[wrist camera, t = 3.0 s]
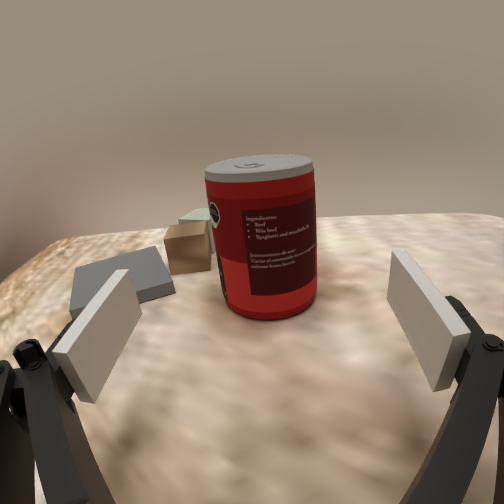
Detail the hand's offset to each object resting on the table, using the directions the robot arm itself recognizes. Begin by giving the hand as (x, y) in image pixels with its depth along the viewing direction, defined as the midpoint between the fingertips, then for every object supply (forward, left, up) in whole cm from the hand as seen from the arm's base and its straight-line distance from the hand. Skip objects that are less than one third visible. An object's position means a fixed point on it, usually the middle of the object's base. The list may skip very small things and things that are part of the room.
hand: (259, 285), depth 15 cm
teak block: (-1, -19, -7) cm, 20 cm away
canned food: (-5, -9, -7) cm, 12 cm away
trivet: (+7, -19, -6) cm, 21 cm away
